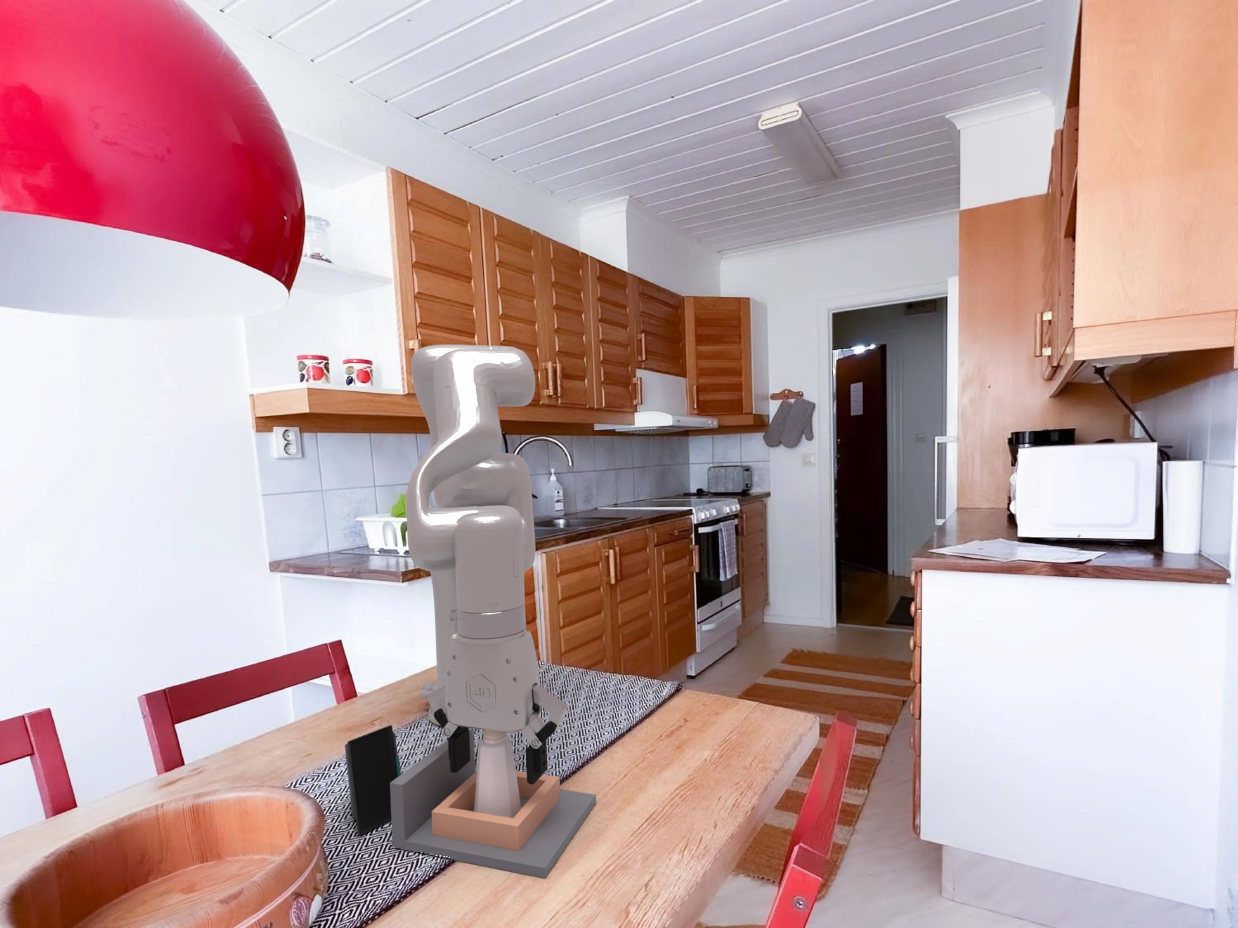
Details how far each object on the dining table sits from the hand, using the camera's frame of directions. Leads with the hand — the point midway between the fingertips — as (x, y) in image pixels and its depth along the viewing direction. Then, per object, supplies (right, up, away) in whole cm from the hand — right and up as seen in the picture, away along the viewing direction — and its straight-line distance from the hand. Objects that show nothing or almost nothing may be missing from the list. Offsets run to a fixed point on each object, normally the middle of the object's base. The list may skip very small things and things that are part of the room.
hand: (497, 772), depth 71 cm
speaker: (-16, -7, +3) cm, 17 cm away
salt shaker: (0, -5, 0) cm, 5 cm away
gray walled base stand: (0, -6, 0) cm, 6 cm away
